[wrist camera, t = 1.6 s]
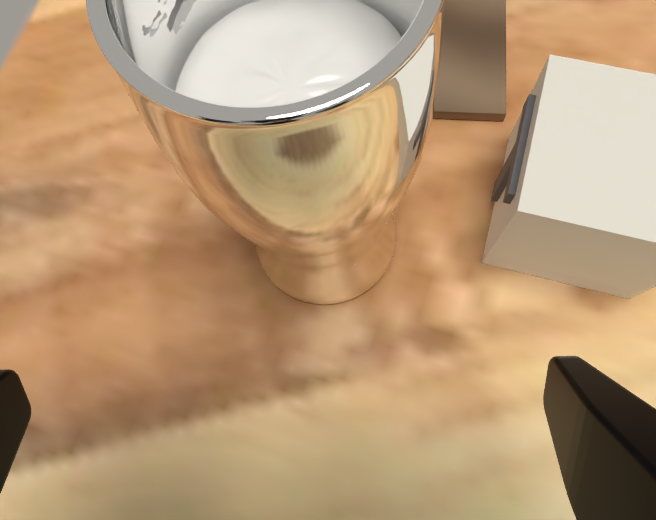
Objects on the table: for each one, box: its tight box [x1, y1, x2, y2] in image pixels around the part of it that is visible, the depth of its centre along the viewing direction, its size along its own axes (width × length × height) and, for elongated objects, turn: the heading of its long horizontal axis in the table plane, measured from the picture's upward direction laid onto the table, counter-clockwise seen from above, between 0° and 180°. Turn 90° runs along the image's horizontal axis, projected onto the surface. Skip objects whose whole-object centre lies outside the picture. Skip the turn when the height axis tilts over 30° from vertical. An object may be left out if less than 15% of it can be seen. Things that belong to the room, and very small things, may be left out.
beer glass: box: [86, 0, 444, 304], centre depth 17 cm, size 7×7×15 cm
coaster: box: [433, 0, 506, 121], centre depth 27 cm, size 10×10×1 cm
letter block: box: [482, 55, 656, 299], centre depth 21 cm, size 6×6×6 cm
